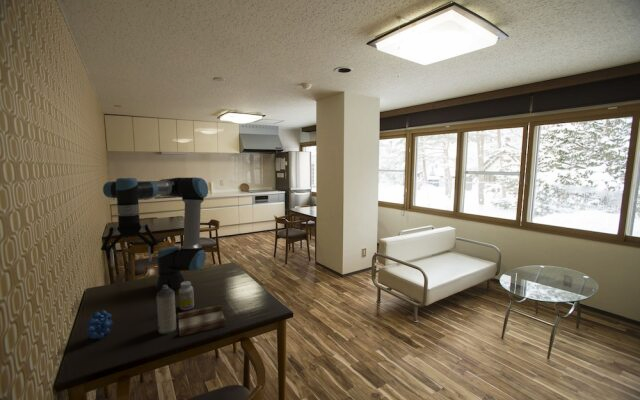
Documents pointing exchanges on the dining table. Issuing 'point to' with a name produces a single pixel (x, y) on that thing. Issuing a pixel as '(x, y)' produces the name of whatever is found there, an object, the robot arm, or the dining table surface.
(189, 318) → the cradle
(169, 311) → the aerosol can
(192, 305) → the supplement bottle
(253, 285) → the dining table surface
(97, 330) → the grapes
